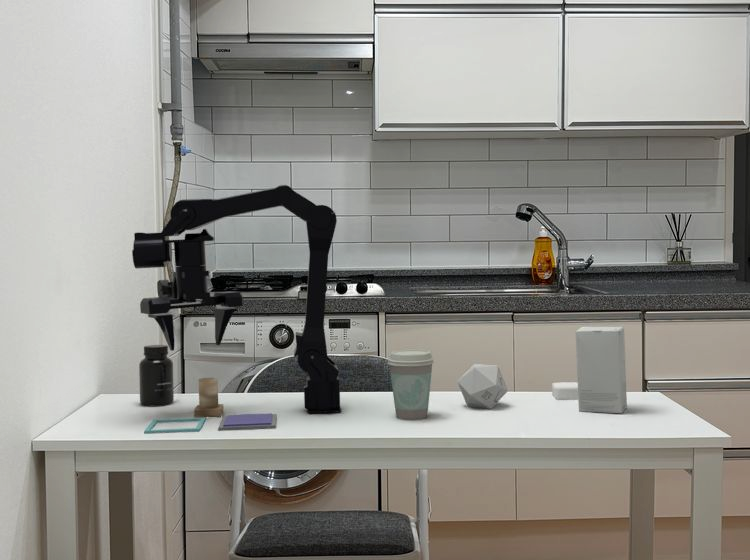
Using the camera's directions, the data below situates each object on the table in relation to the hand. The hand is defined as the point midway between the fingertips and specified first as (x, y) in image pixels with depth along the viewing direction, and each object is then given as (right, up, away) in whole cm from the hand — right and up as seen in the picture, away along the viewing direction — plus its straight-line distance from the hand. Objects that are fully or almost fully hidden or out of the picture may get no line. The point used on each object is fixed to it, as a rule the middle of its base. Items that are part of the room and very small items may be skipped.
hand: (195, 347), depth 160 cm
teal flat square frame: (-2, -14, -9) cm, 16 cm away
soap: (+75, -12, +11) cm, 77 cm away
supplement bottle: (-11, -13, +14) cm, 22 cm away
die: (+55, -12, +4) cm, 57 cm away
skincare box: (+77, -12, -2) cm, 78 cm away
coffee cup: (+41, -13, -4) cm, 43 cm away
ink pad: (+11, -13, -7) cm, 19 cm away
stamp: (+3, -13, +1) cm, 13 cm away
